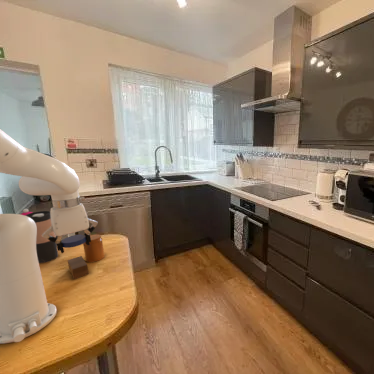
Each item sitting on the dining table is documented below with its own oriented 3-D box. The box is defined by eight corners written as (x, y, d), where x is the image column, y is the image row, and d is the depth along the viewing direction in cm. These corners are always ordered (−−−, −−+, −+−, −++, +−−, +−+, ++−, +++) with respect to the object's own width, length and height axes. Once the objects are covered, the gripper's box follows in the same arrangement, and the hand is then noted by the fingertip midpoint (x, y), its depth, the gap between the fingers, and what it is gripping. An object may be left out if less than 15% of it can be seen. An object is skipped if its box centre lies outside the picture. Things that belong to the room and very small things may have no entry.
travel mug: (41, 255, 94) (32, 211, 90) (62, 252, 96) (54, 210, 92) (29, 264, 87) (19, 217, 83) (53, 261, 89) (43, 216, 85)
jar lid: (60, 243, 80) (59, 238, 80) (83, 237, 86) (83, 232, 85) (64, 249, 76) (63, 244, 75) (88, 242, 81) (87, 238, 81)
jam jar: (106, 257, 93) (103, 237, 91) (88, 264, 88) (84, 242, 86) (102, 252, 97) (99, 232, 95) (84, 258, 92) (80, 237, 90)
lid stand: (88, 274, 82) (87, 264, 81) (74, 279, 78) (72, 269, 78) (83, 264, 87) (81, 255, 87) (69, 269, 84) (67, 260, 83)
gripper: (93, 196, 86) (99, 237, 90) (31, 205, 73) (42, 252, 77) (98, 199, 81) (105, 243, 85) (34, 211, 68) (45, 261, 72)
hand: (75, 247), depth 81 cm, fingers closed on jar lid, 7 cm apart
